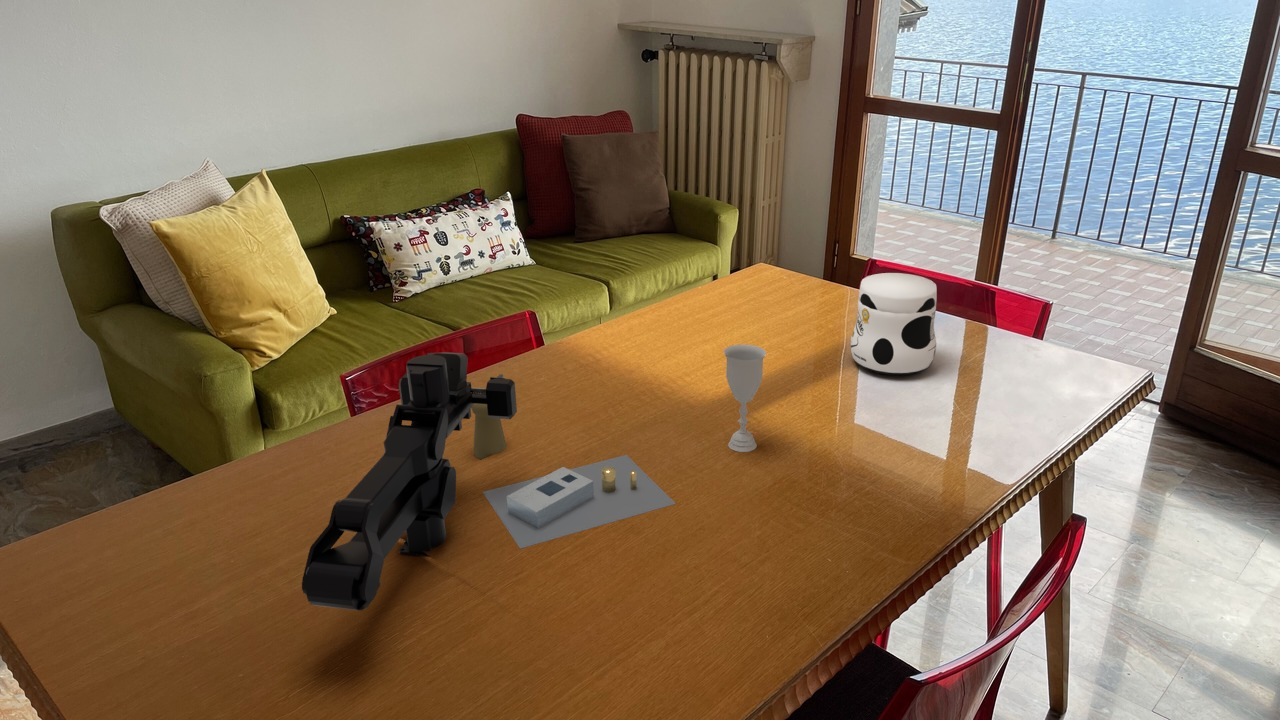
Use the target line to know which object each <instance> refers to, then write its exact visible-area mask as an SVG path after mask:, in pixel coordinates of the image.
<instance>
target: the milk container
mask: <svg viewBox="0 0 1280 720" xmlns="http://www.w3.org/2000/svg"><path fill="white" fill-rule="evenodd" d="M937 292H938V291H937V284H936V283H935V282H934V281H932V280H931V279H929V278H927V277H925V276H924V277H923V276H920V275H917V274H910V273H901V272H885V273H883V272H882V273H877V274H876V273H875V274H872V275H867V276H866V277H864V278H862V280H861V281H860V286H859V291H858V299H857V317H856V322H855V326H854V328H853V331H852V334H851V337H850V350H851V351H850V353H851V356H852V359H853V360H854V361H855V363H856V364H858V365H859V366H860V367H862V368H864V369H865V370H868V371H870V372H874V373H877V374H882V375H889V376H906V375H907V376H908V375H915V374H917V373H920V372H923V371H925V370H927V369H928V368H929V367H930V366H931V364H932V363H933V361H934V358H935V355H936V351H937V339H936V338H937V337H936V334H935V333H936V332H935V319H936V313H937V300H938V299H937V298H938V297H937V295H938V294H937Z"/></svg>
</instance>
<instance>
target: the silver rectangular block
mask: <svg viewBox="0 0 1280 720" xmlns="http://www.w3.org/2000/svg"><path fill="white" fill-rule="evenodd" d="M543 476H544V477H542V476H541V477H542V478H540V479H539V480H537V481H535V482H533V483H531V484H529V485H527V486H525V487H523V488H521V489H519V490H517V491H515V492H514V493H512V494H510V495H508V496H507V506H508V513H510V514H512V515H513V516H515V517H517V518H519V519H521V520H522V521H524V522H526V523H528V524H530V525H532V526H533V527H535V528H537V529H539V528H541V527H542V526H544V525H546V524H548V523H549V522H551V521H553V520H555V519H557V518H558V517H560V516H562V515H564V514H565V513H567V512H569V511H571V510H572V509H574V508H576V507H578V506H579V505H581V504H583V503H585V502H587V501H588V500H590V499H592V498H594V486H593V481H592V480H590V479H588V478H586V477H584V476H582V475H580V474H577V473H575V472H573V471H571V470H569V468H567V467H565V466H562V467H560V468H557V469H556V470H553V471H552V472H551V473H548V474H547V475H543Z"/></svg>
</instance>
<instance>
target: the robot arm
mask: <svg viewBox="0 0 1280 720" xmlns="http://www.w3.org/2000/svg"><path fill="white" fill-rule="evenodd" d="M468 360H469V358H468V356H467V355H466V354H465V353H462V352H447V351H444V352H443V351H442V352H427V353H426V354H424V355H419V356H416V357H412V358H410V359H409V360H407V362H406V372H405V374H404V375H403V376H401V378H400V379H399V382H398V389H399V395H400V396H399V397H400V398H399V399H400V404H399V403H398V404H396V405H395V408H394V411H393V415H390V416H389V422H388V426H387V431H386V436H385V438H384V440H383V448H384V449H383V450H384V453H383V454H382V456H381V457H380V459H379V460H378V461H377V462H376V463H375V464H374V465H373V467H371V469H369V471H368V472H367V473H366V474H365V475H364V476H363V478H362V479H361V480H360V481H359V482H358V483H357V484H356V485H355V486H354V487H353V489H351V491H350V492H349V493H348V495H346V496H345V498H343V499H342V500H341V499H339V500H337V501H335V502H334V504H333V507H332V510H331V512H330V518H329V522H328V525H327V526H326V527H325V528H324V530H323V531H322V532H321V534H320V535H319V536H318V537H317V538H316V539H315V541H314V542H313V543H312V544H311V546H310V548H309V552H308V554H307V560H306V563H305V567H304V571H303V576H302V580H301V590H302V593H303V594H304V595H305V596H306V598H307V601H308V603H309V604H310V605H312V606H315V607H316V606H317V607H323V608H324V607H325V608H334V609H345V610H353V611H364V610H366V609H367V608H368V607H369V606H370V604H371V603H372V602H373V600H375V597H376V596H377V592H378V590H379V589H380V587H381V576H382V572H383V571H382V570H383V566H384V562H385V559H386V558H387V557H388V555H389V554H390V552H391V551H392V549H394V548H395V546H396V545H397V543H398V541H399V540H400V539H401V537H403V535H404V534H405V533H406V540H405V541H404V542H403V543H402V545H401V547H400V548H399V550H398V552H399V554H400V555H406V556H407V555H408V556H416V557H417V556H418V557H429V558H430V557H431V555H429V554H428V553H429V552H431V550H432V549H435V548H437V547H440V546H441V545H443V543H444V542H446V539H447V531H446V524H445V523H446V522H445V519H446V518H447V516H448V514H449V513H450V511H451V510H452V508H453V507H454V506H455V504H456V495H457V494H456V492H457V489H456V486H457V485H456V484H457V471H456V467H454V466H451V463H450V459H449V458H443V457H444V453H445V449H446V442H447V441H446V440H447V439H448V438H449V436H450V435H451V434H452V433H453V431H454V432H455V431H456V432H457V431H458V432H460V431H461V430H462V429H463V424H462V420H463V419H464V420H470V418H471V417H472V405H473V403H477V404H487V410H488V416H489V417H490V418H498V419H500V420H512V418H514V416H515V415H516V413H517V412H518V408H517V405H518V404H517V395H516V383H515V381H514V380H513V379H512V378H505V377H504V374H503V373H500V374H498V375H497V377H495V376H492V377H491V376H490V377H489V380H488V381H487V382H486V387H485V388H483V387H472V382H471V381H467V377H468V376H467V374H468V363H469V362H468ZM485 393H486V394H485ZM403 421H404V422H405V421H406V422H411V424H410V425H408V424H403ZM345 532H353V533H355V534H354V535H353V536H352V538H350V540H349V541H348V542H346V543H343V544H341V545H338V546H335V544H336V543H337V542H338V541H339V539H340V538H341V537H342V536H343V534H344V533H345ZM333 546H335V547H333ZM426 552H427V553H426Z"/></svg>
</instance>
